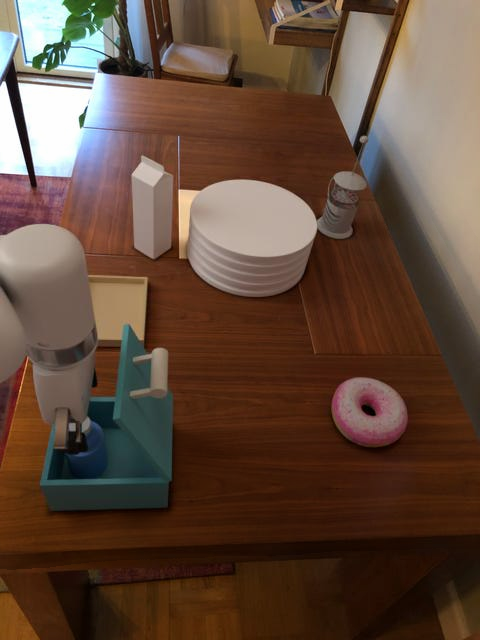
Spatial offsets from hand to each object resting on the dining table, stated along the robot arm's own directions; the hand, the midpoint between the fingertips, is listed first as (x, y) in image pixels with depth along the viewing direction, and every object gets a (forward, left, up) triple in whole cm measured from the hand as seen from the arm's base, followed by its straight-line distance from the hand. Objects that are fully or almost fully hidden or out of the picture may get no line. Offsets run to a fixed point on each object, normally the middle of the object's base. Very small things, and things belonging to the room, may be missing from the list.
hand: (80, 416), depth 63 cm
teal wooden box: (+3, -2, -14) cm, 15 cm away
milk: (+31, +43, -15) cm, 55 cm away
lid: (+7, -4, +3) cm, 9 cm away
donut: (+45, -15, -15) cm, 50 cm away
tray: (+15, +28, -14) cm, 35 cm away
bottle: (0, 0, -14) cm, 14 cm away
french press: (+78, +33, -15) cm, 86 cm away
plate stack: (+50, +32, -15) cm, 61 cm away
